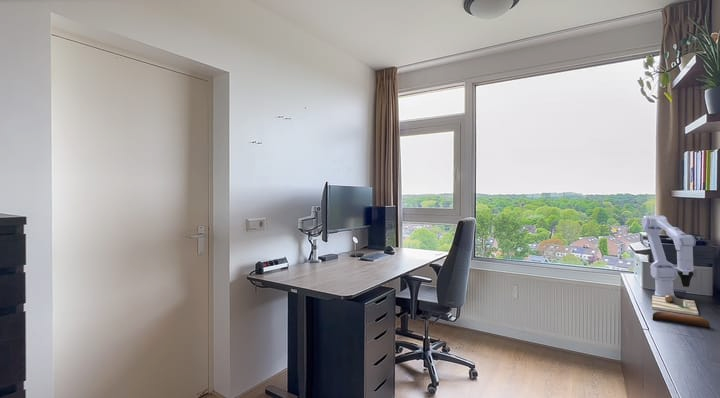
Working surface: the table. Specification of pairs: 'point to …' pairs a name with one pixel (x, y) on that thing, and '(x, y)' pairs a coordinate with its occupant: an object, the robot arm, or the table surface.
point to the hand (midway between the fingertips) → (685, 286)
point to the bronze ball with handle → (676, 300)
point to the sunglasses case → (681, 318)
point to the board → (673, 306)
